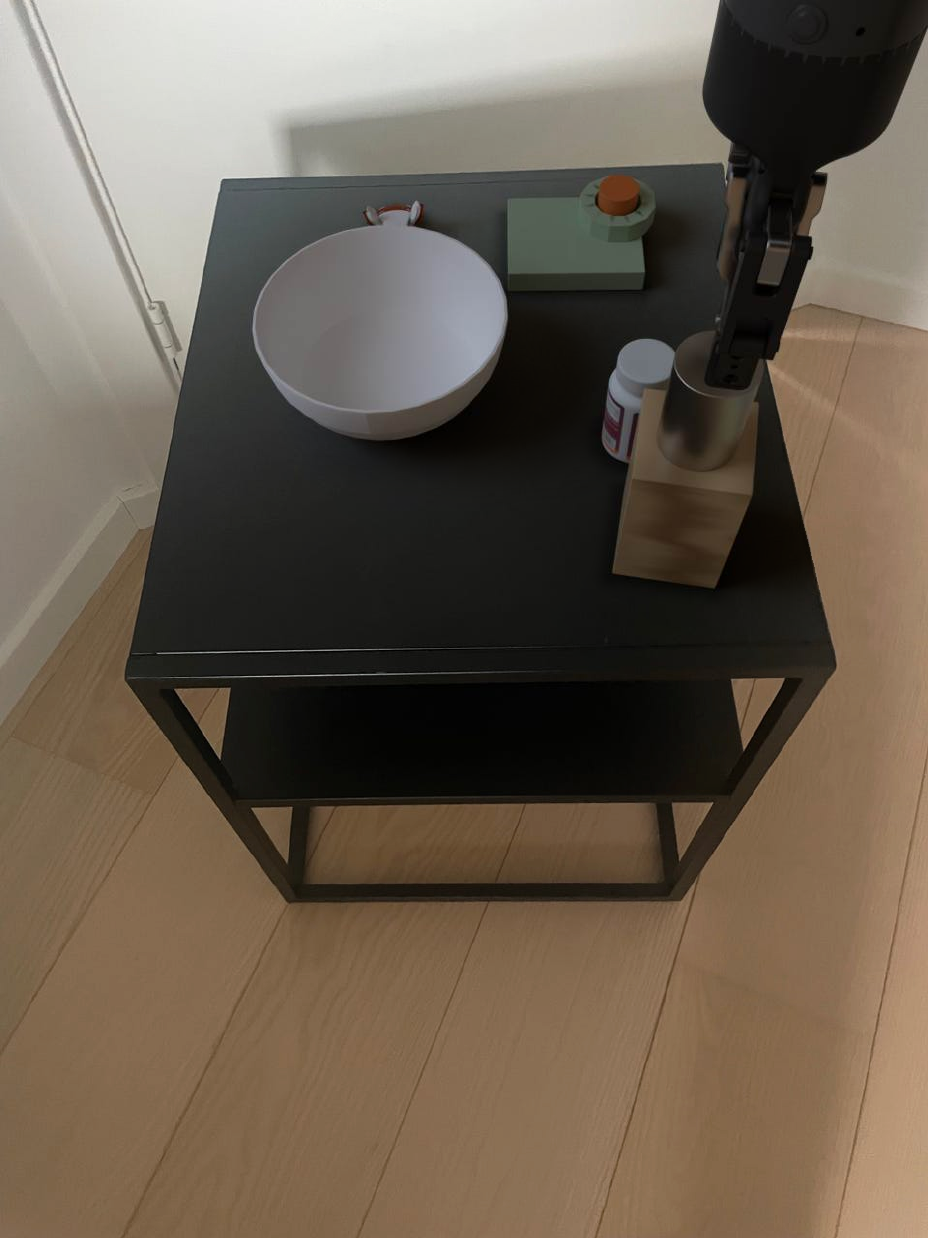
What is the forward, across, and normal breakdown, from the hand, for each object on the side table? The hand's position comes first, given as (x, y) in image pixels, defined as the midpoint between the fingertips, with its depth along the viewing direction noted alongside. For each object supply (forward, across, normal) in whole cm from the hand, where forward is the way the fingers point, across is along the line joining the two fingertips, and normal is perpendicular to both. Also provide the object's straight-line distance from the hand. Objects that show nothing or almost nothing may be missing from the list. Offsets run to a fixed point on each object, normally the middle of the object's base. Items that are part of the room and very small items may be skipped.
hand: (730, 319), depth 49 cm
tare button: (+18, +30, +7) cm, 35 cm away
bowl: (+21, +11, +22) cm, 32 cm away
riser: (+21, 0, 0) cm, 21 cm away
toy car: (+21, +26, +25) cm, 42 cm away
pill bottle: (+21, +8, +3) cm, 23 cm away
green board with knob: (+21, +27, +10) cm, 36 cm away
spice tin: (+10, 0, 0) cm, 10 cm away
